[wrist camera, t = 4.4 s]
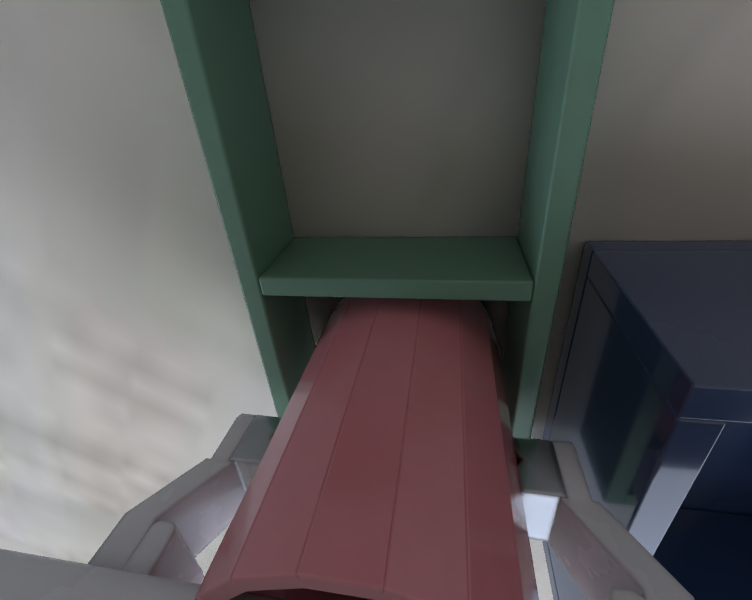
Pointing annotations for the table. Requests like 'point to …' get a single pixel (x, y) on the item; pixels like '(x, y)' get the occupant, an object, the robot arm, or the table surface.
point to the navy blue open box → (664, 405)
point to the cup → (387, 468)
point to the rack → (388, 254)
